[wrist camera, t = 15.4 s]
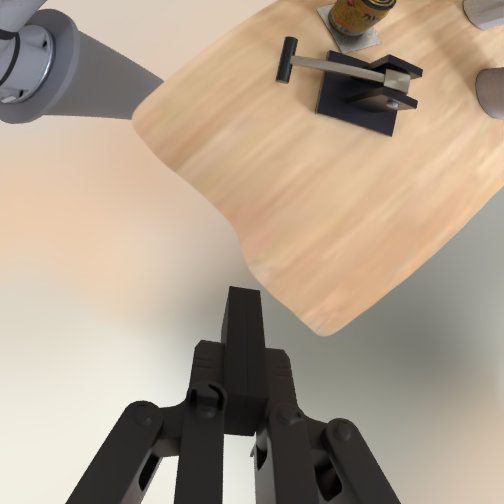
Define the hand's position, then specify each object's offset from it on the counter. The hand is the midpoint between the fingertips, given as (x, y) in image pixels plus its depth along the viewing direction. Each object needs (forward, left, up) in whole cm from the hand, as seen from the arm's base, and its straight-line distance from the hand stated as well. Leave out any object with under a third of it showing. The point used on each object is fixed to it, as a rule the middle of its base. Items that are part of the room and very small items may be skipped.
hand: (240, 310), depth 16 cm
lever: (+1, +21, -22) cm, 30 cm away
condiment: (-1, +31, -31) cm, 44 cm away
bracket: (+6, +22, -31) cm, 39 cm away
